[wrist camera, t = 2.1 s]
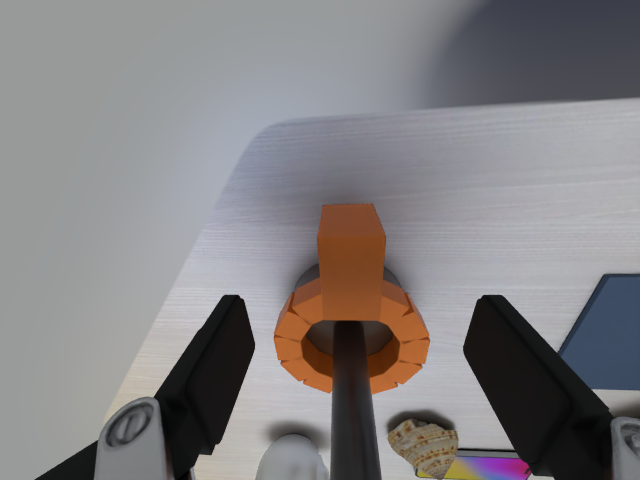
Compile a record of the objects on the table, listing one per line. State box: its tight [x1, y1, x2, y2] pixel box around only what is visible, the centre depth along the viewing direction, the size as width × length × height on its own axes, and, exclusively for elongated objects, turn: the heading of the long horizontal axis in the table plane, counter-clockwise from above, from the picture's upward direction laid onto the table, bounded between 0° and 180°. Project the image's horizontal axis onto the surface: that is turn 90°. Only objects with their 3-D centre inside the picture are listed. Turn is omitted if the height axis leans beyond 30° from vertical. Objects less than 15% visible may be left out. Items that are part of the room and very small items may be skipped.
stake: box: [293, 263, 402, 480], centre depth 16 cm, size 10×10×14 cm
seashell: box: [388, 418, 459, 480], centre depth 29 cm, size 8×6×8 cm
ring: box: [274, 203, 430, 394], centre depth 16 cm, size 16×11×4 cm
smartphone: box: [414, 450, 532, 480], centre depth 33 cm, size 7×1×15 cm
